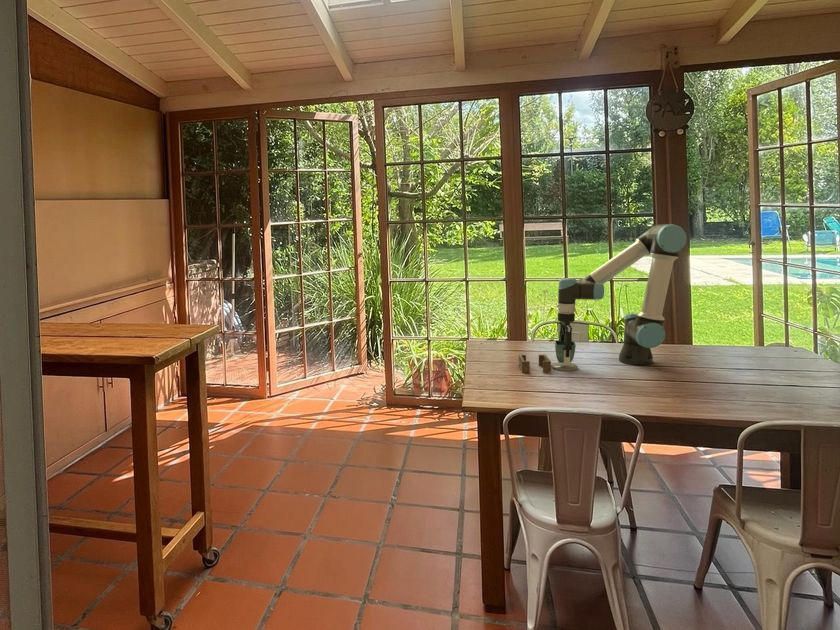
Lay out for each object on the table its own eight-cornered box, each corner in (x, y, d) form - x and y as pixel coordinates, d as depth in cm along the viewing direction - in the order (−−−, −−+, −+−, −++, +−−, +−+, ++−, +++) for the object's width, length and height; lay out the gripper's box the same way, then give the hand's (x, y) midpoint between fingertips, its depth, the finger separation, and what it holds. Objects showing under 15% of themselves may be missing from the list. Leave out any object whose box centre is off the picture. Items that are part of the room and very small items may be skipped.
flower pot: (575, 364, 238) (576, 345, 237) (554, 364, 240) (555, 344, 238) (573, 360, 247) (574, 341, 245) (553, 359, 248) (554, 340, 247)
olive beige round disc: (574, 364, 249) (574, 362, 249) (580, 371, 237) (580, 369, 237) (548, 364, 250) (548, 362, 250) (553, 371, 238) (553, 369, 238)
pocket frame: (545, 365, 248) (545, 354, 247) (550, 372, 236) (550, 361, 235) (518, 365, 249) (518, 354, 248) (521, 372, 237) (522, 361, 236)
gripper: (553, 308, 250) (551, 355, 254) (562, 316, 229) (560, 367, 233) (569, 308, 250) (567, 355, 254) (580, 316, 228) (578, 367, 232)
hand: (564, 361), depth 243 cm, fingers closed on flower pot, 9 cm apart
